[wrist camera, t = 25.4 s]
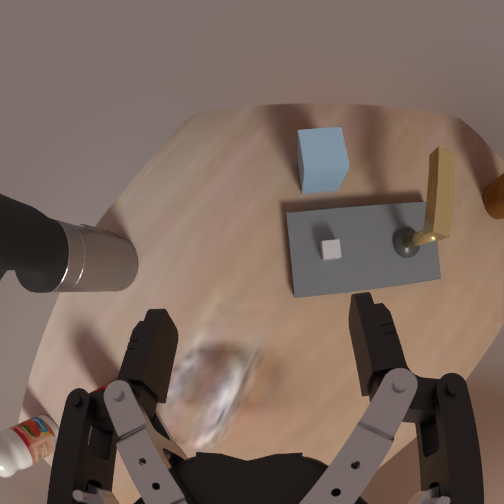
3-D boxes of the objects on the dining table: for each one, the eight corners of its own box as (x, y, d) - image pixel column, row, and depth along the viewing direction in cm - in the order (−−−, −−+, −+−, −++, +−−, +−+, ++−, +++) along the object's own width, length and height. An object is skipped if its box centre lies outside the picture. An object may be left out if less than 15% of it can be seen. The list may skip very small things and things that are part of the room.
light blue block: (302, 193, 43) (304, 170, 34) (297, 160, 44) (297, 129, 34) (337, 190, 43) (349, 166, 33) (331, 157, 43) (340, 127, 33)
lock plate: (294, 297, 42) (294, 298, 38) (286, 216, 43) (285, 208, 39) (435, 278, 39) (448, 278, 35) (424, 204, 41) (436, 197, 36)
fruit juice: (47, 445, 46) (-26, 483, 18) (33, 412, 47) (-48, 443, 19) (70, 449, 45) (-9, 497, 17) (54, 415, 46) (-34, 453, 18)
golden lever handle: (414, 250, 38) (449, 240, 27) (400, 246, 38) (432, 235, 27) (423, 178, 38) (454, 152, 28) (409, 174, 39) (438, 145, 28)
